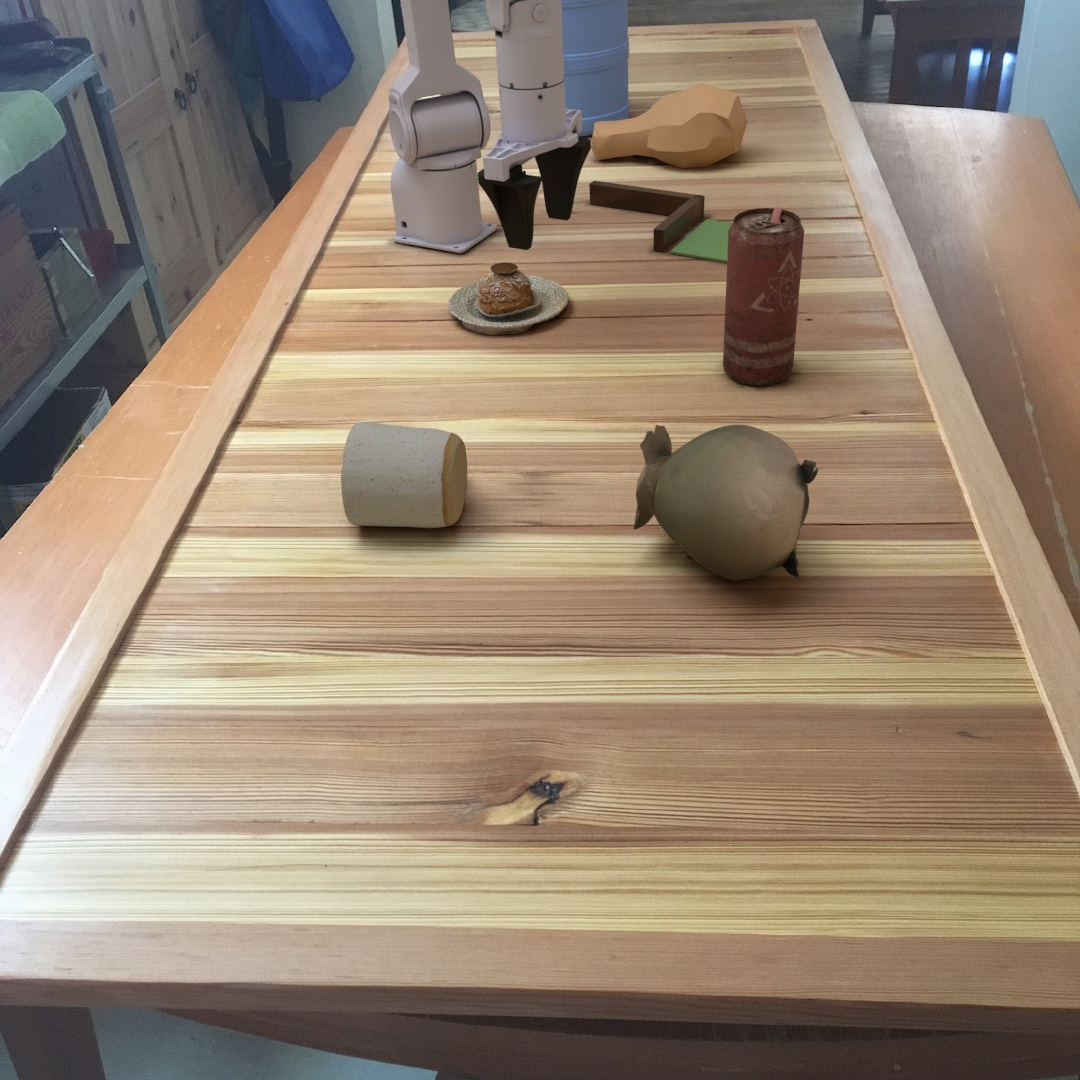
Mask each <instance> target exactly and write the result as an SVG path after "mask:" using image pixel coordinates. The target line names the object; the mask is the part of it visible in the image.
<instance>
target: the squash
mask: <svg viewBox="0 0 1080 1080" xmlns="http://www.w3.org/2000/svg"><path fill="white" fill-rule="evenodd" d="M747 125H748V119H747V116H746V112H745V110H744V108H743V103H742V101H741V99H740V96H739V94H738V93H737V92H734V91H731V90H727V89H723V88H719V87H717V86H712V85H710V84H706V83H703V82H702V83H699V84H697V85H694V86H692V87H689V88H687V89H684V90H681V91H676V92H672V93H668V94H664V95H663V96H662V97H660V98H659V99H658V100H657V101H656V102H654V103H653V105H652V106H651V107H650V108H649V110H647V111H645V112H643V113H642V114H640V115H638V116H636V117H631V118H630V117H629V118H628V119H623V120H617V121H599V122H596V123H594V131H593V135H591V149H590V151H592V153H593V155H594V157H595V158H596V160H598V161H604V160H609V159H614V158H619V157H629V156H630V157H631V156H642V157H650V158H655V159H657V160H659V161H660V162H663V163H665V164H668V165H671V166H674V167H678V168H681V169H688V168H706V167H710V166H711V165H713V164H716V163H717V162H719V161H721V160H723V159H725V158H727V157H729V156H731V155H733V154H734V153H736V152H737V151H738V150H740V148H741V146H742V143H743V139H744V135H745V132H746V128H747Z"/></svg>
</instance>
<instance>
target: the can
mask: <svg viewBox="0 0 1080 1080" xmlns="http://www.w3.org/2000/svg"><path fill="white" fill-rule="evenodd" d="M801 222H802V220H801V218H800V216H799V215H798V214H796V213H794V212H793V211H789V210H787V209H783V207H774V208H773V207H760V208H759V207H757V208H751V209H748V210H744V211H742V212H739V213H738V214H736V215H734V217H733V220H732V222H731V223H732V224H731V226H730V228H729V230H728V254H727V263H726V281H725V282H726V283H725V304H724V306H725V307H724V325H723V326H724V329H723V348H722V349H723V350H722V352H723V353H722V366H723V370H724V372H725V373H726V374H727V376H728V377H729V378H730V379H731V380H733V381H735V382H736V383H738V384H742V385H745V386H753V387H763V386H764V387H767V386H772V385H776V384H778V383H780V382H783V381H784V380H785V379H786V378H788V376H789V375H790V374H791V372H792V371H793V369H794V361H795V349H796V338H797V337H796V336H797V325H798V311H799V299H800V290H801V289H800V288H801V278H802V277H801V275H802V265H803V264H802V263H803V252H804V242H805V241H804V240H805V229H804V227H803V225H802V223H801Z"/></svg>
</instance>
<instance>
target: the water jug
mask: <svg viewBox="0 0 1080 1080" xmlns="http://www.w3.org/2000/svg"><path fill="white" fill-rule="evenodd" d="M628 3H629V0H561V8H562V32H563V57H564V83H565V107H566V109H570V110H580V111H582V132H580V133H579V134H577V135H578V137H582V138H584V137H592V135H593V131H594V123H596V122H599V121H617V120H623V119H629V118H630V110H631V109H630V106H631V105H630V104H631V103H630V99H629V58H630V38H629V8H628V7H629V4H628Z"/></svg>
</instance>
